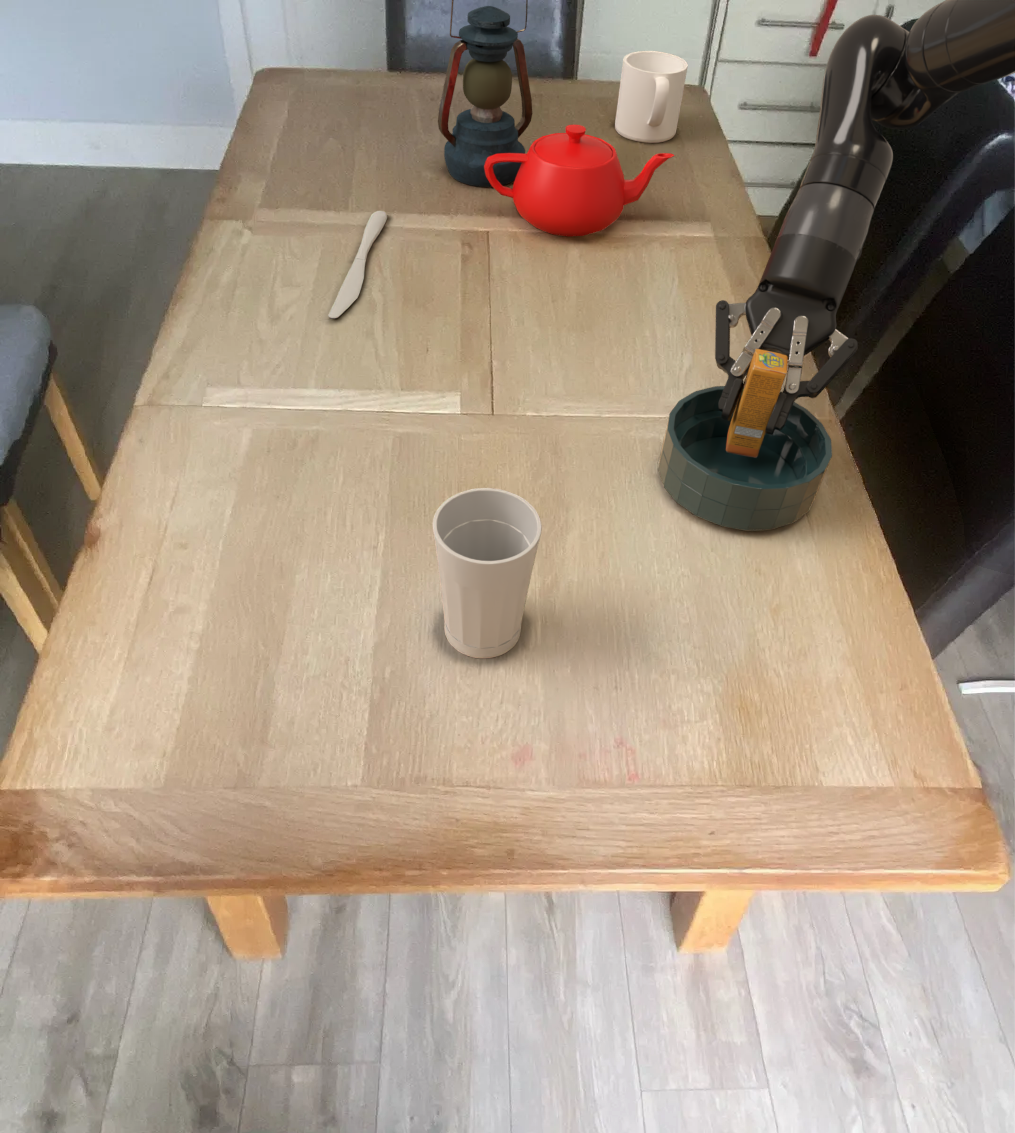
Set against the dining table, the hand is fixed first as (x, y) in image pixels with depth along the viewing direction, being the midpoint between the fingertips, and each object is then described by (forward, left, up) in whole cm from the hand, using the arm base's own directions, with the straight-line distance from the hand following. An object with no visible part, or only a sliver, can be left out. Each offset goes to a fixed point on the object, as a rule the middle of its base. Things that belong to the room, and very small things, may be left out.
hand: (747, 424), depth 85 cm
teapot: (+24, -49, -7) cm, 55 cm away
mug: (+17, -82, -7) cm, 84 cm away
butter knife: (+48, -29, -7) cm, 56 cm away
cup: (+20, +25, -7) cm, 32 cm away
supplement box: (-1, -2, -4) cm, 5 cm away
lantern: (+39, -60, -7) cm, 72 cm away
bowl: (0, +1, -7) cm, 7 cm away
